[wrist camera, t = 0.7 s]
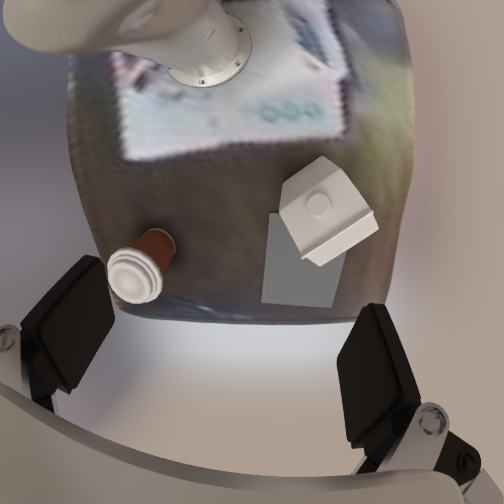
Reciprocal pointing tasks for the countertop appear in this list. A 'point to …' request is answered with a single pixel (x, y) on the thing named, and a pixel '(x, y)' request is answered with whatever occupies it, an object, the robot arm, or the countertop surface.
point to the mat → (296, 271)
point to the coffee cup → (141, 266)
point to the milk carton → (324, 211)
